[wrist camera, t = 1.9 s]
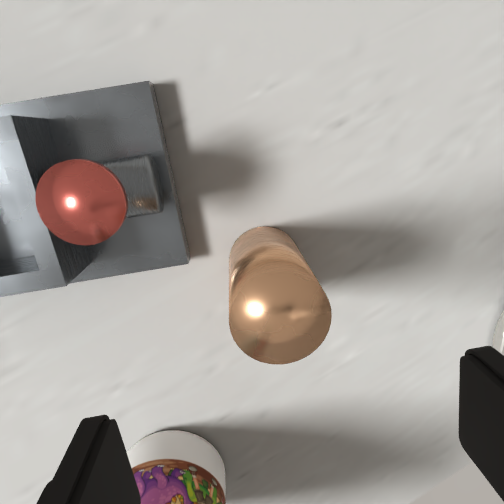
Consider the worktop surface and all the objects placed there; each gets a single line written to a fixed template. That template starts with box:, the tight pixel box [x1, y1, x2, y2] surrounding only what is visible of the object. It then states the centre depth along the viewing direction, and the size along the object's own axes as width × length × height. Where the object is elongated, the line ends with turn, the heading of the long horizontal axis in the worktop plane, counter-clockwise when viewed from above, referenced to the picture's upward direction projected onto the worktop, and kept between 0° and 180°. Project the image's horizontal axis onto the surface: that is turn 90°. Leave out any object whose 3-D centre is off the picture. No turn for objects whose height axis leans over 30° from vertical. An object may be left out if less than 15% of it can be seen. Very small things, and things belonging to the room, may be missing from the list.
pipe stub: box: [229, 226, 331, 364], centre depth 20 cm, size 4×4×8 cm
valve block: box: [0, 81, 190, 297], centre depth 19 cm, size 14×10×6 cm
